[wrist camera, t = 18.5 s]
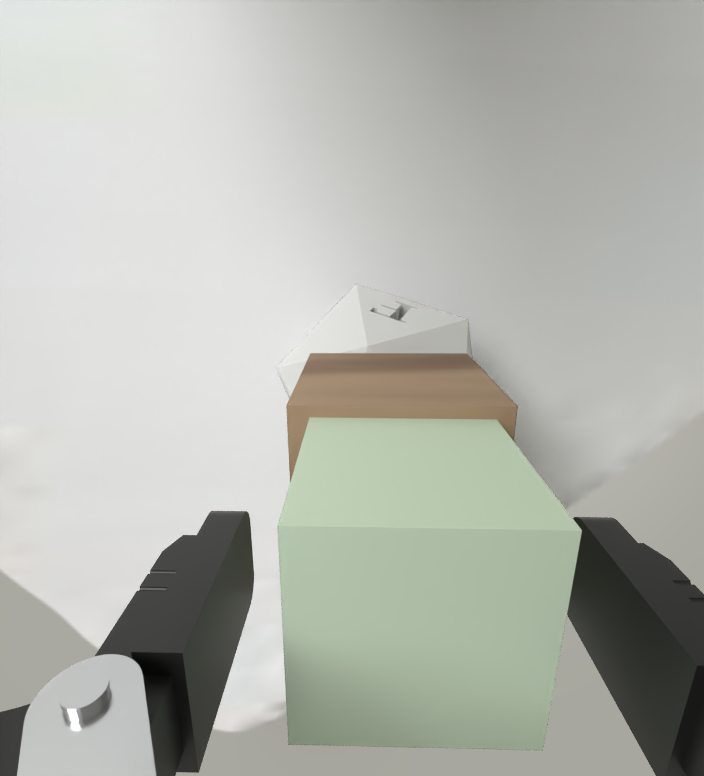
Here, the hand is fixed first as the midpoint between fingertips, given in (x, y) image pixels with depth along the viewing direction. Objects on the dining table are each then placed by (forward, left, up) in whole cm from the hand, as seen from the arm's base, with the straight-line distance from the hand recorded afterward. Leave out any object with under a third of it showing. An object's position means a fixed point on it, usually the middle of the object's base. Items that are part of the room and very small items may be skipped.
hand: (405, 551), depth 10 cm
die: (0, 0, -15) cm, 15 cm away
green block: (0, 0, -2) cm, 2 cm away
